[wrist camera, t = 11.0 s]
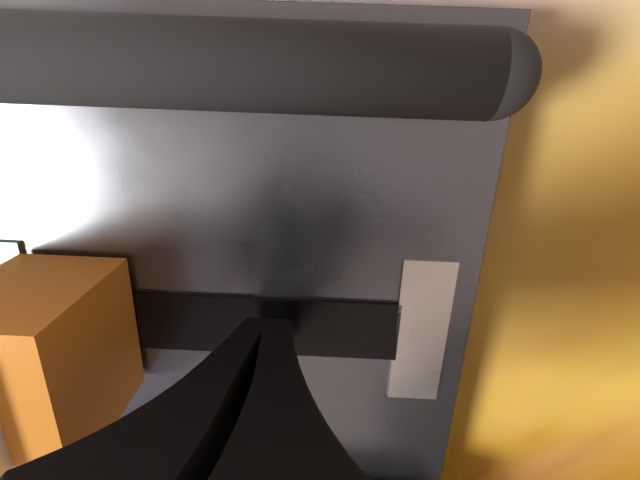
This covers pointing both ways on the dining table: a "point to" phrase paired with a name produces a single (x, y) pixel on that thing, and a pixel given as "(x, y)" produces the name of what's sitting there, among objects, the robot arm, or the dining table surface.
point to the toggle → (63, 351)
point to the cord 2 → (266, 65)
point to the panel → (277, 231)
